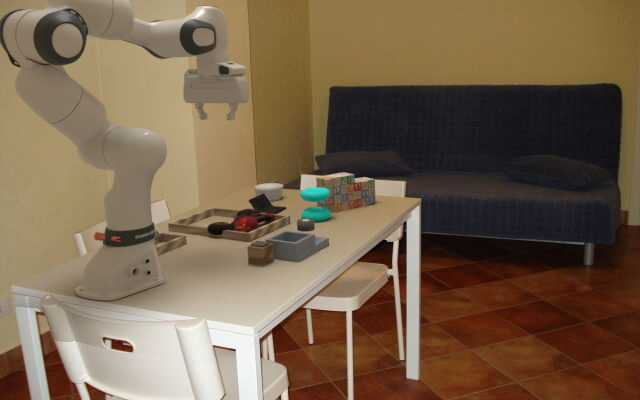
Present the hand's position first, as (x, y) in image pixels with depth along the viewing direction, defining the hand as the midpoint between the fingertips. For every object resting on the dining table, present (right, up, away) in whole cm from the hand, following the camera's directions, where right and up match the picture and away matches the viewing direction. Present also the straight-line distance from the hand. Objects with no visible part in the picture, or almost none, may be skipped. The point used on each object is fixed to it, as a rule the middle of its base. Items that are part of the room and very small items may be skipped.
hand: (217, 119), depth 180 cm
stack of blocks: (+38, -25, +55) cm, 71 cm away
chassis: (+22, -36, +6) cm, 43 cm away
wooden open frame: (-1, -31, +34) cm, 46 cm away
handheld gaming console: (+10, -27, +53) cm, 60 cm away
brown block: (+12, -39, -3) cm, 41 cm away
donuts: (+27, -29, +41) cm, 56 cm away
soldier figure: (-24, -36, +16) cm, 46 cm away
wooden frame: (-24, -36, +15) cm, 46 cm away
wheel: (+24, -30, +9) cm, 40 cm away
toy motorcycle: (+4, -31, +31) cm, 44 cm away
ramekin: (+9, -22, +72) cm, 76 cm away
